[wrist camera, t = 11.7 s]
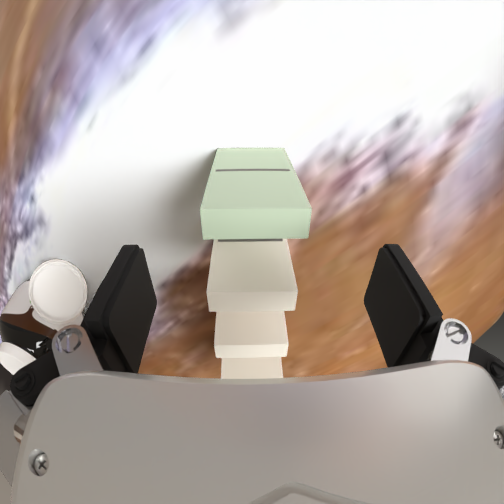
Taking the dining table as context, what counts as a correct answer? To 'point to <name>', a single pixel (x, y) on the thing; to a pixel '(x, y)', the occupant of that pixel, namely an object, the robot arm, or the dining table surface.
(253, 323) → the domino
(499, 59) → the dining table surface
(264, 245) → the domino
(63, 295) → the spread jar
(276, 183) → the green domino
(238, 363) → the domino
